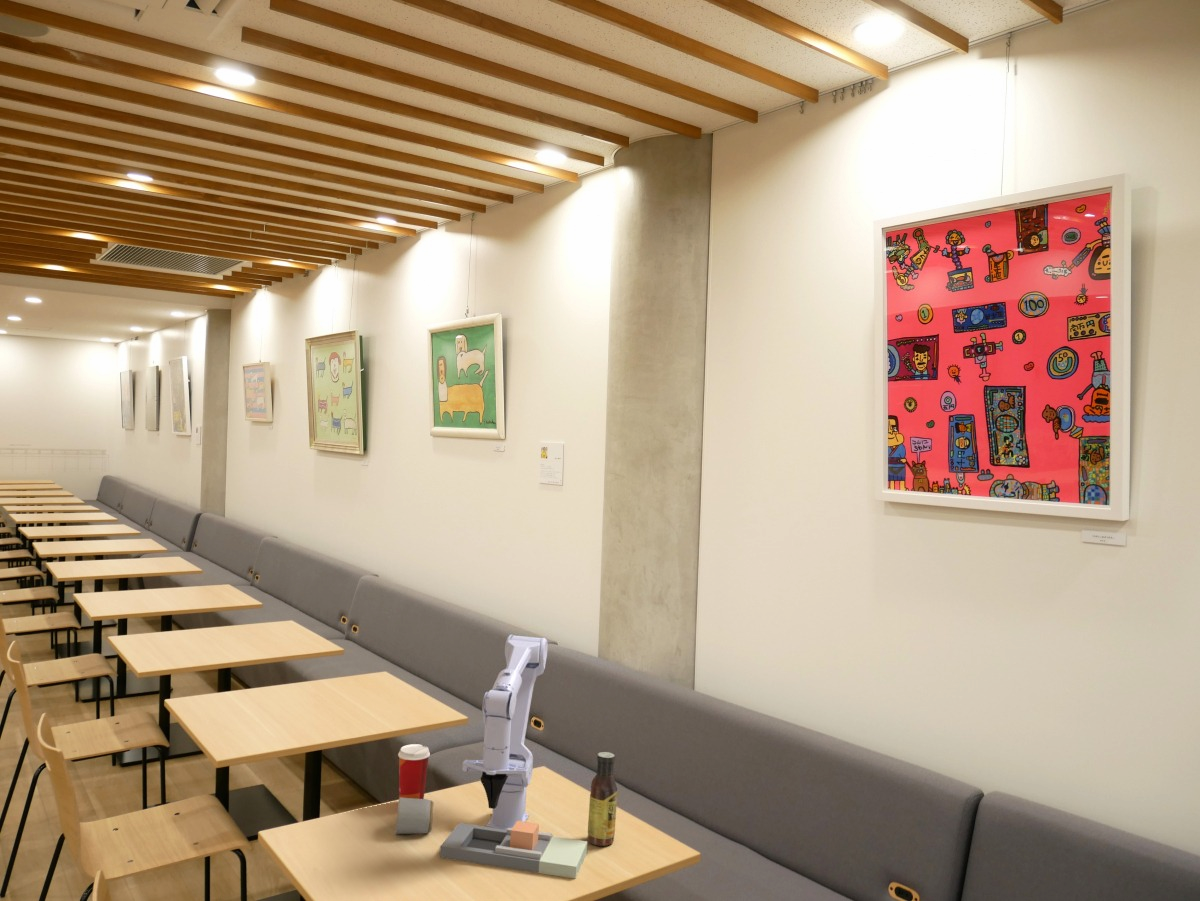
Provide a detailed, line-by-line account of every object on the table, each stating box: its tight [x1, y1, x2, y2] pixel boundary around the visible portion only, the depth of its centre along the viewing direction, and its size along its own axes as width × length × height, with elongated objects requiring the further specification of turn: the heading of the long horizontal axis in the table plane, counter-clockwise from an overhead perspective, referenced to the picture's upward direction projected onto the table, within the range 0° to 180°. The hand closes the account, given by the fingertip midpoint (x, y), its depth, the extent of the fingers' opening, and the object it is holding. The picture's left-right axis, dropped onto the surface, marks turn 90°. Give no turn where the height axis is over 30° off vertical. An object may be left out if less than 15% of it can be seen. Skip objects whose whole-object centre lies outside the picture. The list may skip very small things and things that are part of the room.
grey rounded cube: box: [395, 797, 434, 835], centre depth 200 cm, size 11×8×8 cm
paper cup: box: [397, 743, 431, 799], centre depth 212 cm, size 8×8×14 cm
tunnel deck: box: [439, 822, 588, 879], centre depth 191 cm, size 12×30×4 cm, turn 80°
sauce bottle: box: [587, 751, 618, 847], centre depth 200 cm, size 7×6×20 cm
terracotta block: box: [510, 821, 540, 851], centre depth 190 cm, size 5×5×4 cm
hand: (493, 806), depth 191 cm, fingers closed
